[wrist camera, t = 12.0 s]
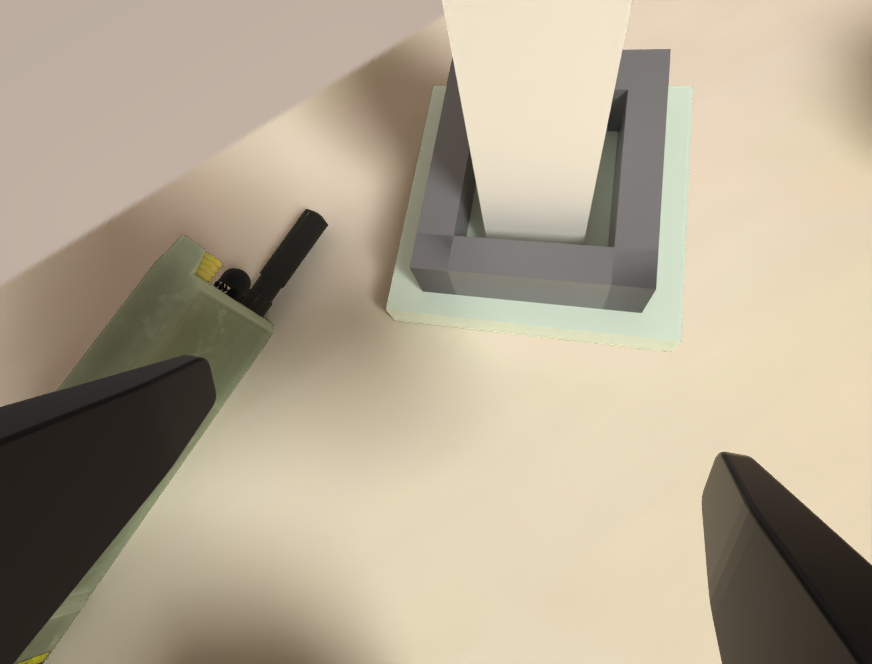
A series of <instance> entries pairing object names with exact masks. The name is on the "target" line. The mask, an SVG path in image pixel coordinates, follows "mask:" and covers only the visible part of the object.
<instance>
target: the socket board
mask: <svg viewBox="0 0 872 664" xmlns="http://www.w3.org/2000/svg"><path fill="white" fill-rule="evenodd" d="M670 50H671V49H652V50H622V54H621V59H620V64H619V69H618V74H617V79H616V84H615V89H614V94H613V99H612V104H611V109H610V114H609V119H608V124H607V129H606V134H605V139H604V144H603V149H602V154H601V159H600V164H599V169H598V174H597V179H596V184H595V189H594V194H593V199H592V204H591V209H590V214H589V219H588V224H587V229H586V234H585V239H584V244H583V245H576V244H562V243H548V242H535V241H521V240H507V239H493V238H486V233H485V228H484V222H483V217H482V212H481V206H480V201H479V195H478V190H477V185H476V179H475V174H474V169H473V163H472V158H471V153H470V147H469V142H468V137H467V131H466V126H465V121H464V115H463V110H462V105H461V99H460V94H459V89H458V83H457V78H456V73H455V67H454V62H453V57H452V62H451V67H450V72H449V77H448V82H447V85H433V90H432V95H431V99H430V104H429V109H428V113H427V118H426V123H425V128H424V132H423V137H422V142H421V146H420V151H419V156H418V160H417V165H416V170H415V174H414V179H413V184H412V189H411V193H410V198H409V203H408V207H407V212H406V217H405V221H404V226H403V231H402V235H401V240H400V245H399V250H398V254H397V259H396V264H395V268H394V273H393V278H392V282H391V287H390V292H389V296H388V301H387V306H386V310H387V312H388V313H389V314H390V315H391V317H392V318H393V319H394V320H395V321H404V322H413V323H422V324H431V325H439V326H448V327H457V328H466V329H475V330H483V331H492V332H501V333H510V334H519V335H527V336H536V337H545V338H554V339H563V340H571V341H580V342H589V343H598V344H607V345H615V346H624V347H633V348H642V349H651V350H660V351H668V352H672V351H673V350H674V349H675V348H676V347H677V346H678V345H679V344H680V343H681V342H682V321H683V298H684V275H685V252H686V230H687V207H688V184H689V161H690V138H691V116H692V93H693V86H668V84H669V67H670Z"/></svg>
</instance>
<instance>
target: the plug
mask: <svg viewBox="0 0 872 664" xmlns="http://www.w3.org/2000/svg"><path fill="white" fill-rule="evenodd" d="M442 3H443V8H444V14H445V19H446V24H447V30H448V35H449V41H450V46H451V51H452V57H453V62H454V67H455V73H456V78H457V83H458V89H459V94H460V99H461V105H462V110H463V115H464V121H465V126H466V131H467V137H468V142H469V147H470V153H471V158H472V163H473V169H474V174H475V179H476V185H477V190H478V195H479V201H480V206H481V212H482V217H483V222H484V228H485V233H486V238H493V239H507V240H521V241H535V242H548V243H562V244H576V245H583V244H584V239H585V234H586V229H587V224H588V219H589V214H590V209H591V204H592V199H593V194H594V189H595V184H596V179H597V174H598V169H599V164H600V159H601V154H602V149H603V144H604V139H605V134H606V129H607V124H608V119H609V114H610V109H611V104H612V99H613V94H614V89H615V84H616V79H617V74H618V69H619V64H620V59H621V54H622V49H623V45H624V40H625V35H626V30H627V25H628V20H629V15H630V10H631V5H632V0H442Z"/></svg>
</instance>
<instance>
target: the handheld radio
mask: <svg viewBox="0 0 872 664" xmlns="http://www.w3.org/2000/svg"><path fill="white" fill-rule="evenodd" d="M327 226H328V224H327V223H326V221H325V220H324V219H323V217H322V216H321V215H319V214H318V213H316V212H314V211H311V210H308V209H306V210H305V211H304V212H303V214H302V215H301V217H300V218H299V219H298V221H297V222H296V224H295V225H294V226H293V228H292V229H291V231H290V232H289V233H288V235H287V236H286V237H285V239H284V240H283V242H282V243H281V244H280V246H279V247H278V249H277V250H276V251H275V253H274V254H273V256H272V257H271V258H270V260H269V261H268V262H267V264H266V265H265V267H264V268H263V269H262V271H261V272H260V273H261V276H260V277H259V279H258V280H257V281H256V283H255V284H254V286H253V287H252V288H251V289H249V288H250V285H251V281H250V278H249V276H248V275H247V274H246V273H245V272H244V271H242V270H240V269H236V268H232V269H228V270H227V271H225V272H224V273H223V275H222V276H221V278H220V279H219V281H220V282H223V283H222V284H219V283H220V282H219V281H216V282H215V284H214V285H212V284H210V283H209V281H210V282H211V281H212V279H211V278H212V277H215V276H216V275H215V273H216V272H217V273H218V272H219V270H218V269H219V268H222V262H221V261H219V260H218V259H217V258H215V257H214V256H212V255H211V254H209V253H207V252H206V251H205V249H204V248H203V247H202V246H200V245H199V244H197V243H196V242H194V241H193V240H191V239H190V238H188V237H186V236H185V235H182V236H181V237H180V238H179V239H178V240H177V241H176V242H175V243H174V244H173V245H172V246H171V248H170V249H169V250H168V251H167V252H166V253H165V254H164V255H162V256H161V257H160V258H159V259H158V260H157V261H156V262H155V263H154V265H153V266H152V267H151V268H150V270H149V271H148V272H147V274H146V275H145V276H144V278H143V279H142V280H141V282H140V283H139V284H138V285H137V287H136V288H135V289H134V291H133V292H132V293H131V295H130V296H129V297H128V299H127V300H126V301H125V302H124V304H123V305H122V306H121V308H120V309H119V310H118V312H117V313H116V314H115V316H114V317H113V318H112V319H111V321H110V322H109V323H108V325H107V326H106V327H105V329H104V330H103V331H102V333H101V334H100V335H99V336H98V338H97V339H96V340H95V342H94V343H93V344H92V346H91V347H90V348H89V349H88V351H87V352H86V353H85V355H84V356H83V357H82V359H81V360H80V361H79V363H78V364H77V365H76V366H75V368H74V369H73V370H72V372H71V373H70V374H69V376H68V377H67V378H66V380H65V381H64V382H63V383H62V385H61V386H60V387H59V389H58V390H57V391H59V390H62V389H66V388H69V387H73V386H76V385H80V384H83V383H87V382H90V381H94V380H97V379H101V378H104V377H108V376H111V375H115V374H118V373H122V372H125V371H129V370H132V369H136V368H139V367H143V366H146V365H150V364H153V363H157V362H160V361H164V360H167V359H171V358H174V357H177V356H181V355H187V354H188V355H195V356H200V357H204V358H206V359H207V360H208V361H209V363H210V366H211V370H212V374H213V379H214V383H215V387H216V392H217V397H216V402H215V404H214V406H213V408H212V409H211V411H210V412H209V414H208V415H207V417H206V418H205V420H204V421H203V423H202V424H201V426H200V427H199V429H198V430H197V432H196V433H195V435H194V436H193V438H192V439H191V441H190V442H189V444H188V445H187V447H186V448H185V450H184V451H183V453H182V454H181V456H180V457H179V459H178V460H177V462H176V463H175V464H174V466H173V467H172V469H171V470H170V471H169V473H168V474H167V475H166V476H165V478H164V479H163V480H162V482H161V483H160V484H159V485H158V486H157V488H156V489H155V490H154V491H153V493H152V494H151V495H150V496H149V498H148V499H147V500H146V501H145V502H144V504H143V505H142V506H141V507H140V509H139V510H138V511H137V512H136V514H135V515H134V516H133V517H132V519H131V520H130V521H129V522H128V523H127V525H126V526H125V527H124V528H123V530H122V531H121V532H120V533H119V535H118V536H117V537H116V538H115V539H114V541H113V542H112V543H111V544H110V546H109V547H108V548H107V549H106V551H105V552H104V553H103V554H102V556H101V557H100V558H99V559H98V560H97V562H96V563H95V564H94V565H93V567H92V568H91V569H90V570H89V572H88V573H87V574H86V575H85V576H84V578H83V579H82V580H81V581H80V583H79V584H78V585H77V586H76V588H75V589H74V590H73V591H72V593H71V594H70V595H69V596H68V597H67V599H66V600H65V601H64V602H63V604H62V605H61V606H60V607H59V609H58V610H57V611H56V612H55V613H54V615H53V616H52V617H51V618H50V620H49V621H48V622H47V623H46V625H45V626H44V627H43V628H42V630H41V631H40V632H39V633H38V634H37V636H36V637H35V638H34V639H33V641H32V642H31V643H30V644H29V646H28V647H27V648H26V649H25V650H24V652H23V653H22V654H21V655H20V657H19V658H18V659H17V660H16V662H15V663H14V664H43V663H44V662H45V660H46V659H47V657H48V656H49V654H50V653H51V652H52V650H53V649H54V647H55V646H56V644H57V643H58V642H59V640H60V639H61V637H62V636H63V634H64V633H65V632H66V630H67V629H68V627H69V626H70V624H71V623H72V622H73V620H74V619H75V617H76V616H77V614H78V613H79V612H80V610H81V609H82V607H83V606H84V604H85V603H86V601H87V600H88V598H89V596H90V595H91V593H92V592H93V590H94V589H95V588H96V586H97V585H98V583H99V582H100V580H101V579H102V578H103V576H104V575H105V573H106V572H107V570H108V569H109V568H110V566H111V565H112V563H113V562H114V560H115V559H116V558H117V556H118V555H119V553H120V552H121V550H122V549H123V548H124V546H125V545H126V543H127V542H128V540H129V539H130V538H131V536H132V535H133V533H134V532H135V530H136V529H137V527H138V526H139V525H140V523H141V522H142V520H143V519H144V517H145V516H146V515H147V513H148V512H149V510H150V509H151V507H152V506H153V505H154V503H155V502H156V500H157V499H158V497H159V496H160V495H161V493H162V492H163V490H164V489H165V487H166V486H167V485H168V483H169V482H170V480H171V479H172V477H173V476H174V474H175V473H176V472H177V470H178V469H179V467H180V466H181V464H182V463H183V462H184V460H185V459H186V457H187V456H188V454H189V453H190V452H191V450H192V449H193V447H194V446H195V444H196V443H197V442H198V440H199V439H200V437H201V436H202V434H203V433H204V432H205V430H206V429H207V427H208V426H209V424H210V423H211V422H212V420H213V419H214V417H215V416H216V414H217V413H218V411H219V410H220V409H221V407H222V406H223V404H224V403H225V401H226V400H227V399H228V397H229V396H230V394H231V393H232V391H233V390H234V389H235V387H236V386H237V384H238V383H239V381H240V380H241V379H242V377H243V376H244V374H245V373H246V371H247V370H248V369H249V367H250V366H251V364H252V363H253V361H254V360H255V359H256V357H257V356H258V354H259V353H260V351H261V350H262V348H263V347H264V346H265V344H266V343H267V341H268V340H269V338H270V337H271V335H272V332H273V325H272V324H271V323H270V322H269V321H267V320H266V319H264V318H263V316H264V315H265V314H266V312H267V311H268V309H269V308H270V307H271V305H272V303H271V302H272V300H273V299H274V297H275V296H276V295H277V293H278V292H279V290H280V289H281V287H282V288H283V287H284V286H285V284H286V283H287V282H288V280H289V279H290V278H291V276H292V275H293V273H294V272H295V271H296V269H297V268H298V266H299V265H300V264H301V262H302V261H303V259H304V258H305V257H306V255H307V254H308V252H309V251H310V250H311V248H312V247H313V245H314V244H315V243H316V241H317V240H318V238H319V237H320V236H321V234H322V233H323V231H324V230H325V229H326V227H327ZM224 284H226V286H225V288H224ZM217 286H218V288H217ZM227 286H229V287H230V288H232V289H230V290H227ZM222 289H223V291H221V290H222ZM225 291H227V293H224V292H225ZM242 295H243V296H242ZM241 298H242V299H241Z"/></svg>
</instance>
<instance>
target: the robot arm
mask: <svg viewBox="0 0 872 664" xmlns="http://www.w3.org/2000/svg"><path fill="white" fill-rule="evenodd" d="M216 397H217V392H216V387H215V383H214V379H213V374H212V370H211V366H210V363H209V361H208V360H207V359H206V358H204V357H200V356H195V355H188V354H187V355H181V356H177V357H174V358H171V359H167V360H164V361H160V362H157V363H153V364H150V365H146V366H143V367H139V368H136V369H132V370H129V371H125V372H122V373H118V374H115V375H111V376H108V377H104V378H101V379H97V380H94V381H90V382H87V383H83V384H80V385H76V386H73V387H69V388H66V389H62V390H59V391H55V392H52V393H48V394H45V395H41V396H38V397H34V398H31V399H27V400H24V401H20V402H17V403H13V404H10V405H6V406H3V407H0V664H14V663H15V662H16V660H17V659H18V658H19V657H20V655H21V654H22V653H23V652H24V650H25V649H26V648H27V647H28V646H29V644H30V643H31V642H32V641H33V639H34V638H35V637H36V636H37V634H38V633H39V632H40V631H41V630H42V628H43V627H44V626H45V625H46V623H47V622H48V621H49V620H50V618H51V617H52V616H53V615H54V613H55V612H56V611H57V610H58V609H59V607H60V606H61V605H62V604H63V602H64V601H65V600H66V599H67V597H68V596H69V595H70V594H71V593H72V591H73V590H74V589H75V588H76V586H77V585H78V584H79V583H80V581H81V580H82V579H83V578H84V576H85V575H86V574H87V573H88V572H89V570H90V569H91V568H92V567H93V565H94V564H95V563H96V562H97V560H98V559H99V558H100V557H101V556H102V554H103V553H104V552H105V551H106V549H107V548H108V547H109V546H110V544H111V543H112V542H113V541H114V539H115V538H116V537H117V536H118V535H119V533H120V532H121V531H122V530H123V528H124V527H125V526H126V525H127V523H128V522H129V521H130V520H131V519H132V517H133V516H134V515H135V514H136V512H137V511H138V510H139V509H140V507H141V506H142V505H143V504H144V502H145V501H146V500H147V499H148V498H149V496H150V495H151V494H152V493H153V491H154V490H155V489H156V488H157V486H158V485H159V484H160V483H161V482H162V480H163V479H164V478H165V476H166V475H167V474H168V473H169V471H170V470H171V469H172V467H173V466H174V464H175V463H176V462H177V460H178V459H179V457H180V456H181V454H182V453H183V451H184V450H185V448H186V447H187V445H188V444H189V442H190V441H191V439H192V438H193V436H194V435H195V433H196V432H197V430H198V429H199V427H200V426H201V424H202V423H203V421H204V420H205V418H206V417H207V415H208V414H209V412H210V411H211V409H212V408H213V406H214V404H215V402H216ZM702 515H703V527H704V540H705V552H706V564H707V576H708V588H709V597H710V605H711V610H712V616H713V621H714V626H715V631H716V636H717V641H718V646H719V651H720V656H721V661H722V664H872V565H871V564H870V563H869V562H868V561H867V560H866V559H864V558H863V557H862V556H861V555H860V554H859V553H858V552H857V551H855V550H854V549H853V548H852V547H851V546H850V545H849V544H848V543H847V542H845V541H844V540H843V539H842V538H841V537H840V536H839V535H838V534H837V533H835V532H834V531H833V530H832V529H831V528H830V527H829V526H828V525H826V524H825V523H824V522H823V521H822V520H821V519H820V518H819V517H818V516H816V515H815V514H814V513H813V512H812V511H811V510H810V509H809V508H808V507H806V506H805V505H804V504H803V503H802V502H801V501H800V500H799V499H797V498H796V497H795V496H794V495H793V494H792V493H791V492H790V491H789V490H787V489H786V488H785V487H784V486H783V485H782V484H781V483H780V482H779V481H777V480H776V479H775V478H774V477H773V476H772V475H771V474H770V473H768V472H767V471H766V470H765V469H764V468H763V467H762V466H761V465H760V464H758V463H757V462H756V461H755V460H754V459H753V458H751V457H749V456H746V455H740V454H735V453H729V452H721V453H719V454H718V455H717V456H716V458H715V461H714V463H713V466H712V469H711V471H710V474H709V477H708V480H707V482H706V485H705V488H704V491H703V495H702Z"/></svg>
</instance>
